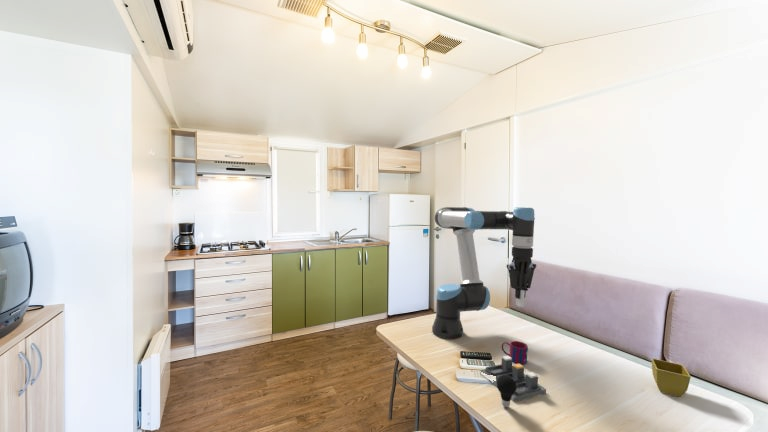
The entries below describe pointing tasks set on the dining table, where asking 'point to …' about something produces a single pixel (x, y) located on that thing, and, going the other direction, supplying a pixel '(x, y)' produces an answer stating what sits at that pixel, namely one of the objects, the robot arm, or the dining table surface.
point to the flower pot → (670, 377)
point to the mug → (517, 352)
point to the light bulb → (506, 388)
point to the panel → (521, 389)
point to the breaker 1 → (506, 363)
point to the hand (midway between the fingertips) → (519, 306)
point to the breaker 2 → (531, 380)
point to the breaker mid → (518, 371)
